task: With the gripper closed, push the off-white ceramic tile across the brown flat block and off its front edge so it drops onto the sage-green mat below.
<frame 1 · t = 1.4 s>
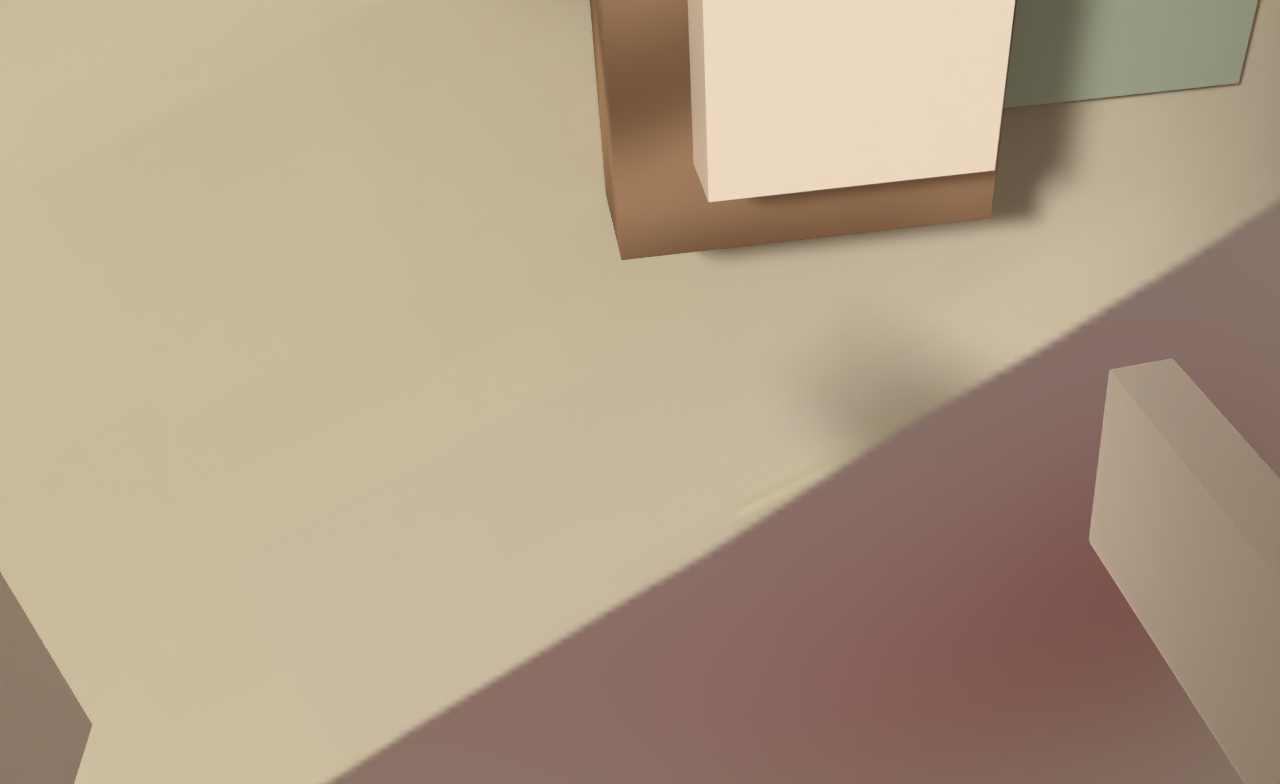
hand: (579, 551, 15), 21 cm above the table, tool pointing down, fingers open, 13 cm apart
tile: (834, 11, 29), point 4 cm above the table, touching brown flat block
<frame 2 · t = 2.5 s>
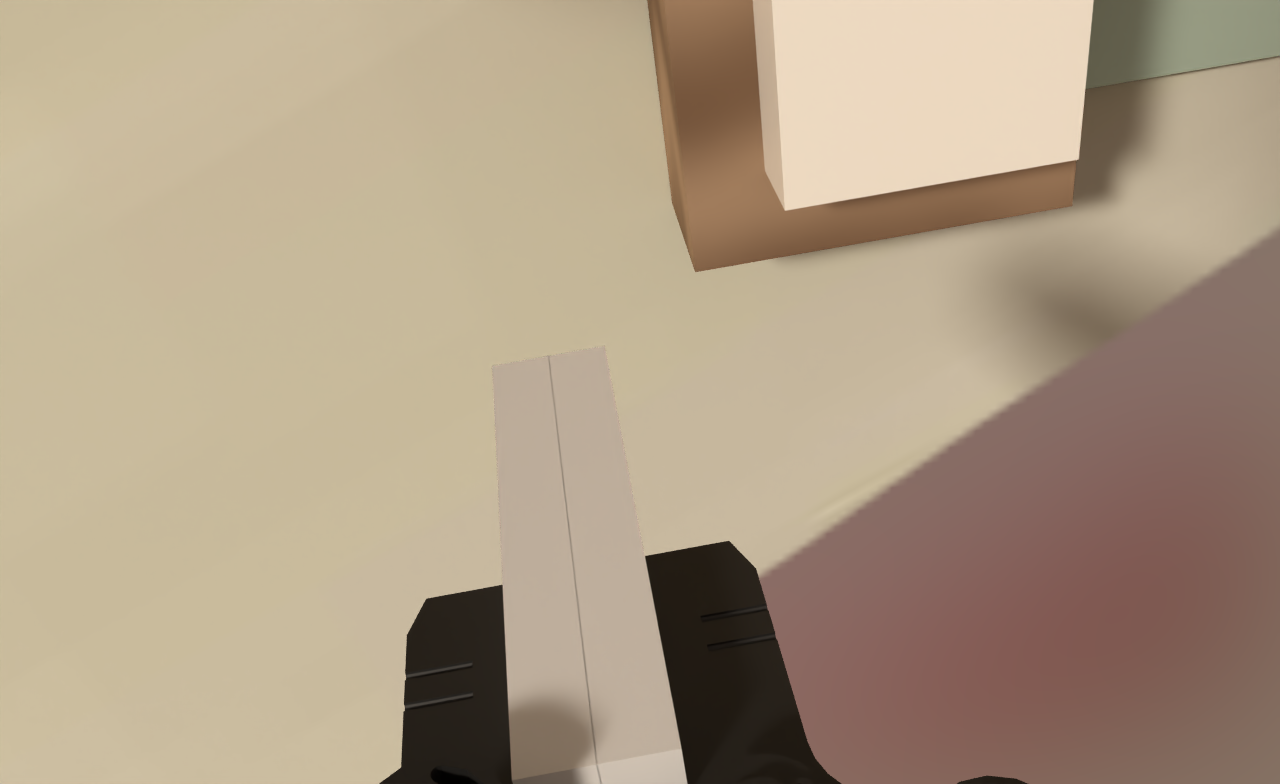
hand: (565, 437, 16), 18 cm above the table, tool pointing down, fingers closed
tile: (903, 7, 28), point 4 cm above the table, touching brown flat block
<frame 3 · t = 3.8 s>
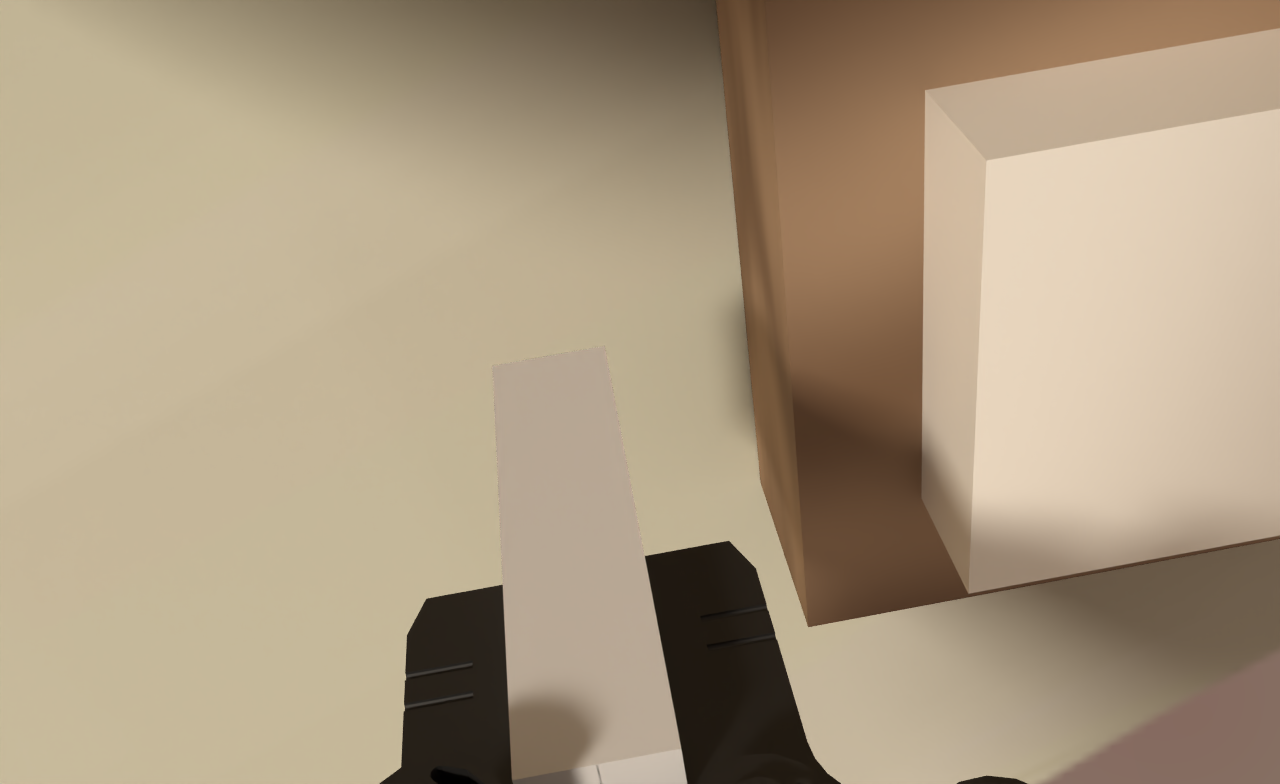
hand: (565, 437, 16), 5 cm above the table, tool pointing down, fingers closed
tile: (1156, 275, 18), point 4 cm above the table, touching brown flat block
brown flat block: (1017, 193, 21), on the table
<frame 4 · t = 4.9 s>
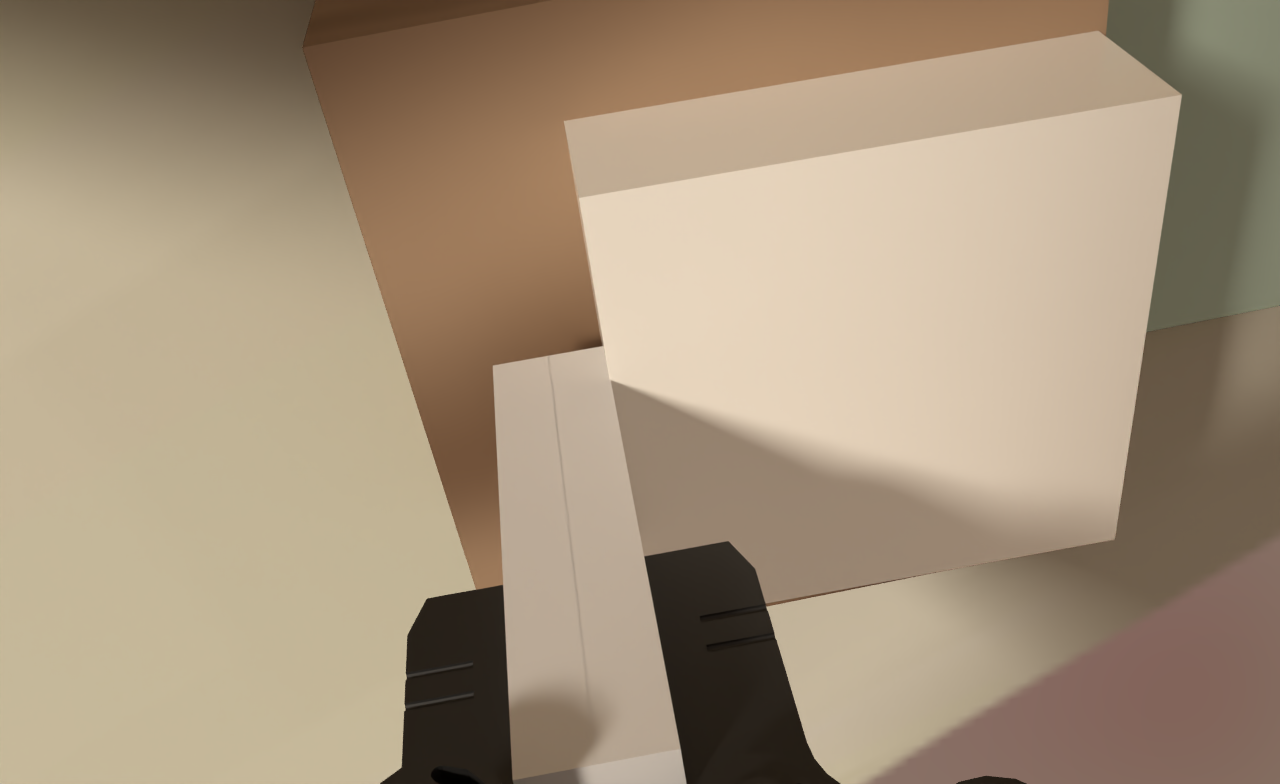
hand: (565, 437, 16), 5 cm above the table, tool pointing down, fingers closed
mat: (1246, 61, 21), on the table
tile: (839, 305, 18), point 4 cm above the table, touching brown flat block, gripper
brown flat block: (706, 219, 21), on the table
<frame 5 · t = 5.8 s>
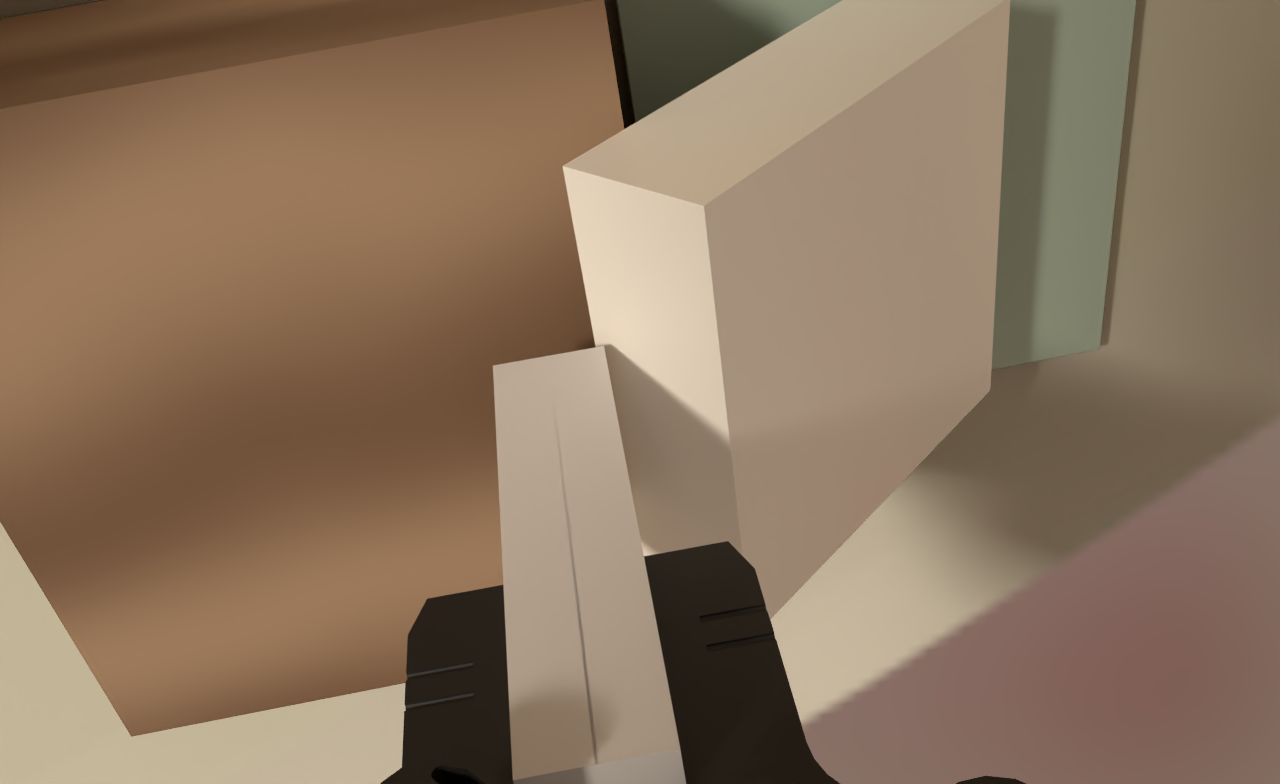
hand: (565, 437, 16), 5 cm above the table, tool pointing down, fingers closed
mat: (880, 140, 21), on the table
tile: (757, 280, 19), point 3 cm above the table, tilted 41°, touching gripper
brown flat block: (344, 293, 21), on the table
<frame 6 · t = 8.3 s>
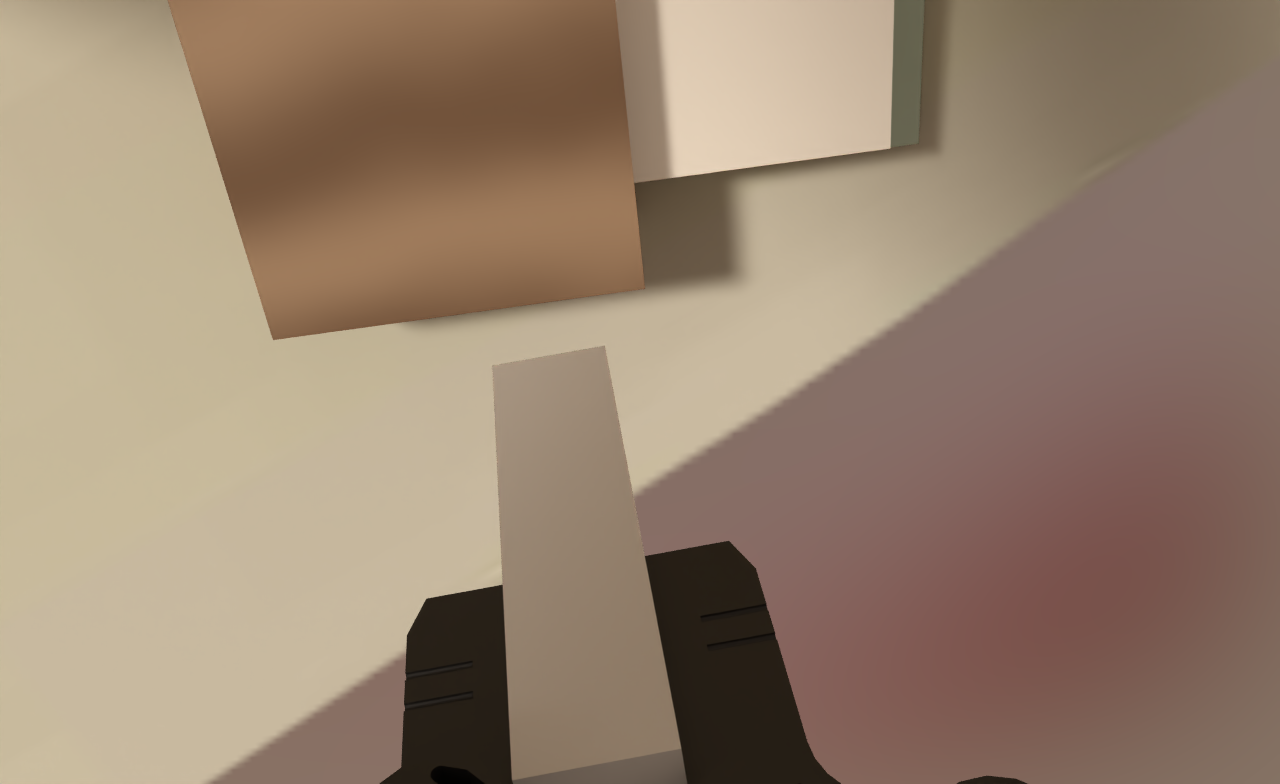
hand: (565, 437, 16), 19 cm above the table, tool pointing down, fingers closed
tile: (741, 11, 32), resting on mat
brown flat block: (425, 65, 33), on the table
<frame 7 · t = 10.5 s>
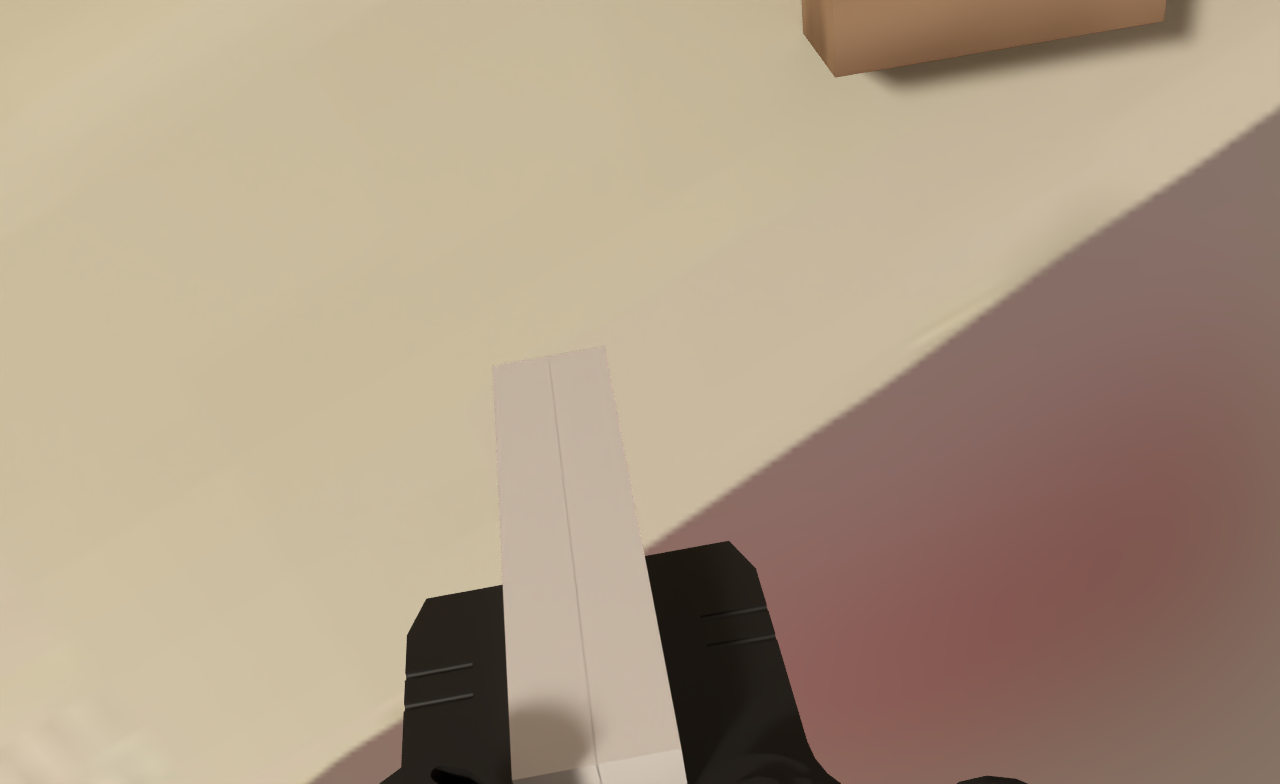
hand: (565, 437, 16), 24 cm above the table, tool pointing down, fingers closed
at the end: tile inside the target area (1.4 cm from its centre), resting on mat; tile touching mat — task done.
